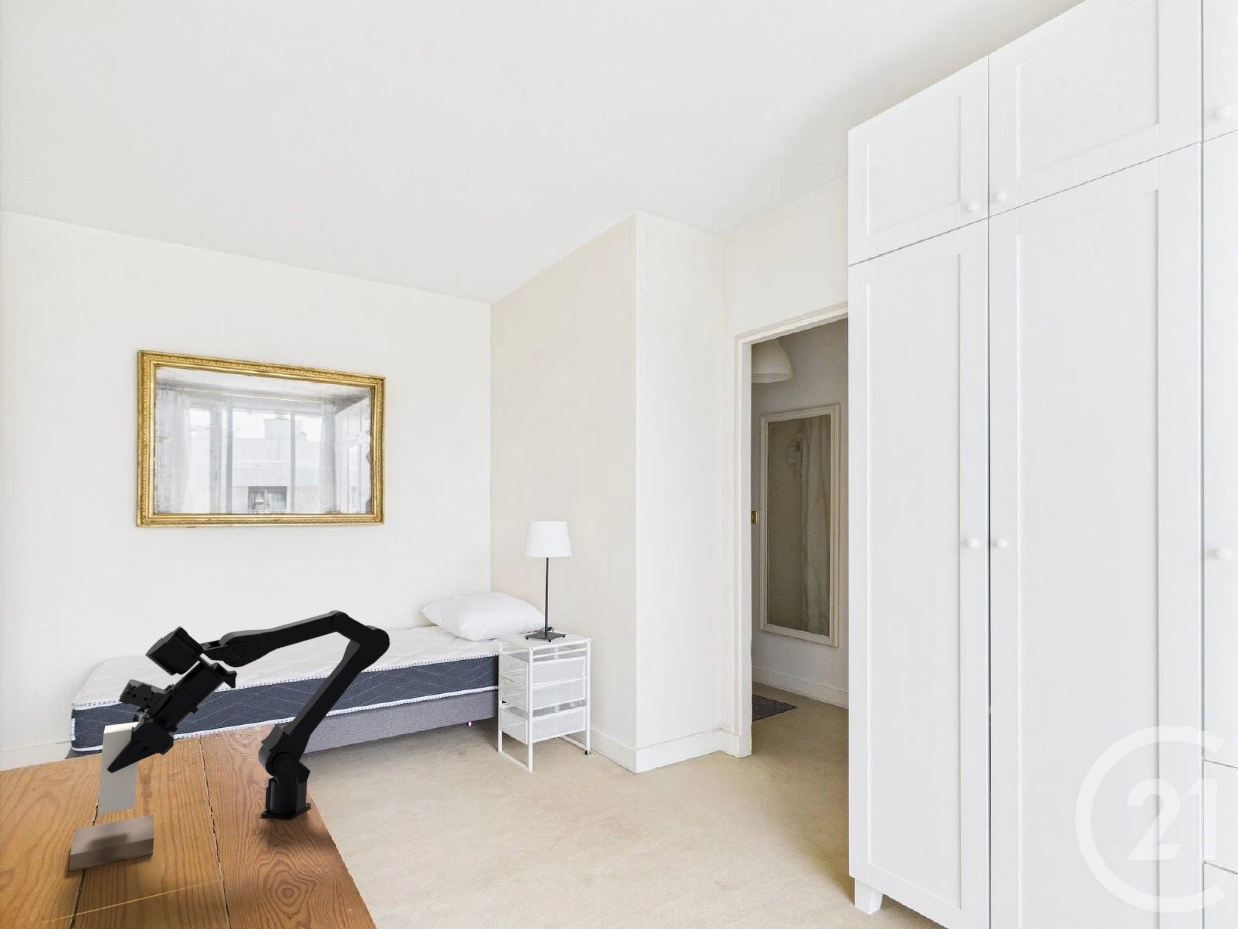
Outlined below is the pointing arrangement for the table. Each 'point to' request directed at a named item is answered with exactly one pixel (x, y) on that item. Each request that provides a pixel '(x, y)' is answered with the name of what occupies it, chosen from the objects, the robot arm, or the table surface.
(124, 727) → the cream block
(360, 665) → the robot arm
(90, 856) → the walnut plinth
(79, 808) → the table surface
